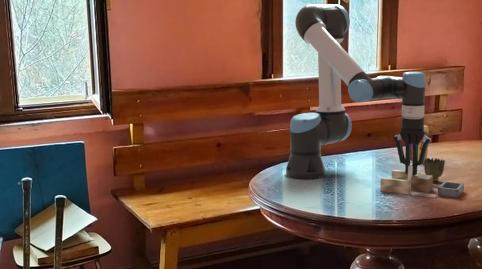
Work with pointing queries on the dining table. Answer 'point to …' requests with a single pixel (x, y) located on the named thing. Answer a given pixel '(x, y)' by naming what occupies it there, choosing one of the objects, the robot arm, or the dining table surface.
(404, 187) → the twin plank rail frame
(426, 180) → the block
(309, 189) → the dining table surface
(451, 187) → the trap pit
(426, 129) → the candy box
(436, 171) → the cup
